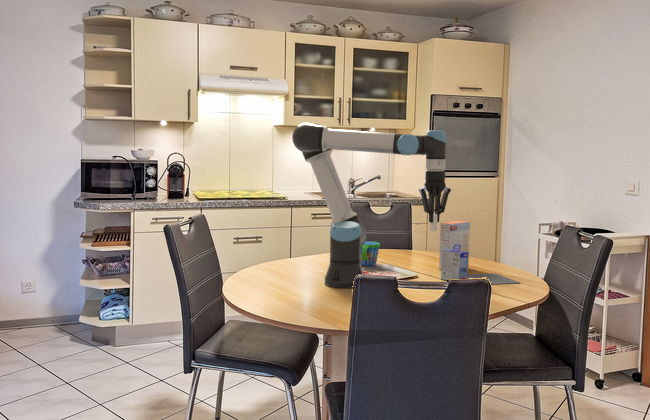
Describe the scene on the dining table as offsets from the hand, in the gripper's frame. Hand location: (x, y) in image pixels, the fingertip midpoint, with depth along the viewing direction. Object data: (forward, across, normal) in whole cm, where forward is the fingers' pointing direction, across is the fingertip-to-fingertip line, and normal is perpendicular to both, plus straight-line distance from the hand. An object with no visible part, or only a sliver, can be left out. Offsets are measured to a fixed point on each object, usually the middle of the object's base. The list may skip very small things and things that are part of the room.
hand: (433, 230), depth 232 cm
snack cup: (+20, -14, +36) cm, 44 cm away
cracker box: (+21, +21, +22) cm, 37 cm away
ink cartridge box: (+21, +10, 0) cm, 23 cm away
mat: (+21, +24, 0) cm, 31 cm away
